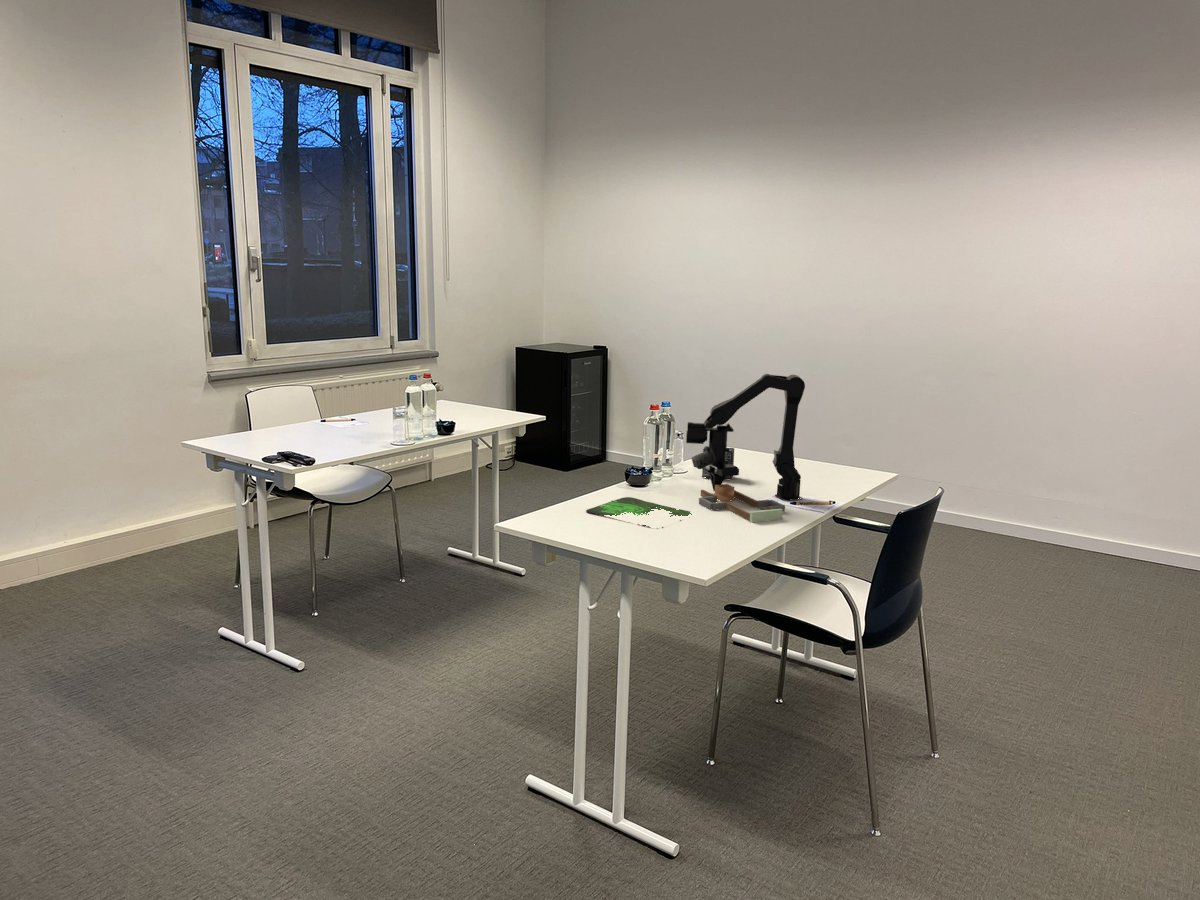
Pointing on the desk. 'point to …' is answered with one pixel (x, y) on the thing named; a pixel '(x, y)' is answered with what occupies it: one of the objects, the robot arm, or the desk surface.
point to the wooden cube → (724, 492)
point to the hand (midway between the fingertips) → (715, 491)
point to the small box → (731, 461)
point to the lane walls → (734, 508)
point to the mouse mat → (632, 508)
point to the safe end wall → (766, 515)
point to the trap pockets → (710, 504)
